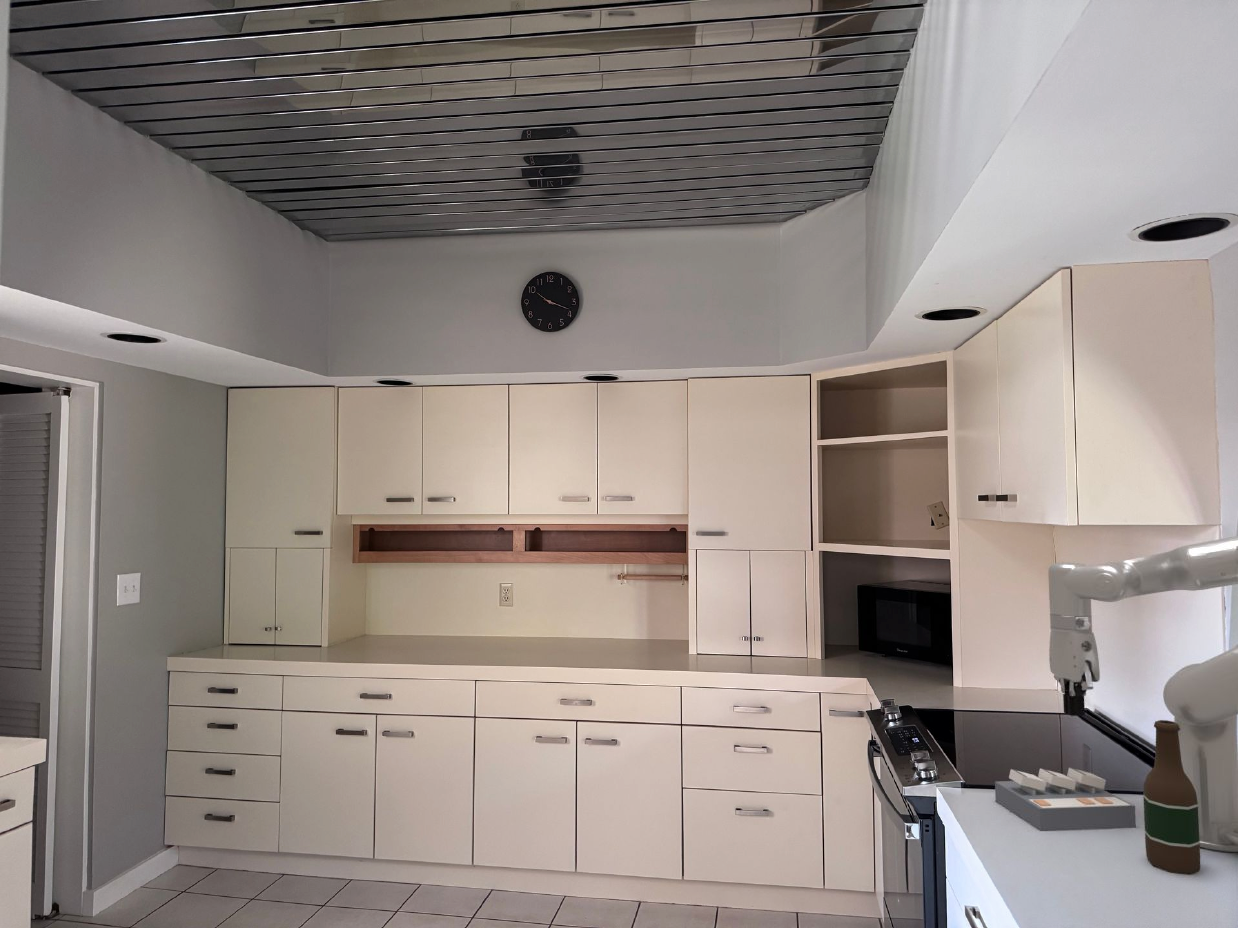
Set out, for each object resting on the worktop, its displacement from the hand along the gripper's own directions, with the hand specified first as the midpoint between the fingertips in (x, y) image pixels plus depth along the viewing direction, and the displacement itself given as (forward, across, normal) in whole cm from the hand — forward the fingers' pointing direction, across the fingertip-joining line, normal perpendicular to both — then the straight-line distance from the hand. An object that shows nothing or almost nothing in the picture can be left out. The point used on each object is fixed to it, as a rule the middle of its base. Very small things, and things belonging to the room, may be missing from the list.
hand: (1074, 714), depth 167 cm
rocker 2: (+13, 0, -2) cm, 13 cm away
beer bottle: (+19, -26, 0) cm, 32 cm away
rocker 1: (+13, 0, +10) cm, 16 cm away
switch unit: (+19, -2, +4) cm, 20 cm away
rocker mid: (+13, 0, +4) cm, 13 cm away
